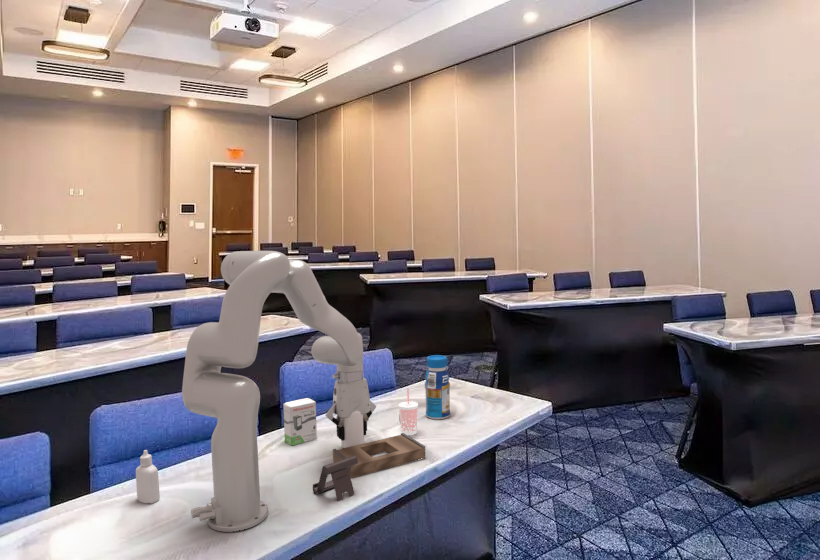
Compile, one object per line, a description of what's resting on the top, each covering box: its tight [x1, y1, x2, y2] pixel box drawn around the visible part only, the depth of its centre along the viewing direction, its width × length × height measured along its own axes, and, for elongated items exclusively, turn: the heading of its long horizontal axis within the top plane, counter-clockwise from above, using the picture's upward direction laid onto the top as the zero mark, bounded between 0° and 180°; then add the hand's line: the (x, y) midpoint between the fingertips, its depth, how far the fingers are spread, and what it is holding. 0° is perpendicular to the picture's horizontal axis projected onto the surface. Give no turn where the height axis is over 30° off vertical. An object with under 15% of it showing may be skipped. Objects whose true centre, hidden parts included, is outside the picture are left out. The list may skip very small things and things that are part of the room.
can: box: [340, 408, 365, 449], centre depth 158 cm, size 6×6×12 cm
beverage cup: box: [397, 387, 419, 436], centre depth 168 cm, size 6×6×14 cm
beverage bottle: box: [424, 354, 451, 420], centre depth 183 cm, size 8×8×20 cm
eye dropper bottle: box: [135, 449, 161, 504], centre depth 128 cm, size 4×6×12 cm
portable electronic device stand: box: [312, 455, 358, 502], centre depth 130 cm, size 9×8×8 cm
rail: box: [332, 433, 426, 479], centre depth 149 cm, size 22×12×3 cm, turn 120°
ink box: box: [283, 397, 318, 446], centre depth 164 cm, size 9×5×12 cm, turn 127°
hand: (352, 435), depth 159 cm, fingers closed on can, 6 cm apart
